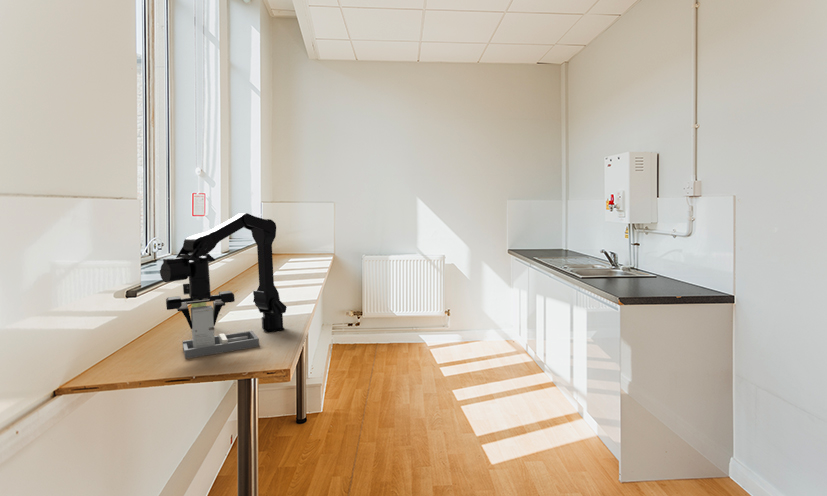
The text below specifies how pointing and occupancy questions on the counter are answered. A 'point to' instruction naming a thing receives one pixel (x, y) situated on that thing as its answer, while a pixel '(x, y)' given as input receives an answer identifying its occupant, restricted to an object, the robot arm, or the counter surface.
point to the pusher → (224, 340)
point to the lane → (221, 345)
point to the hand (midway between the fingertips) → (202, 327)
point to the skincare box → (202, 326)
